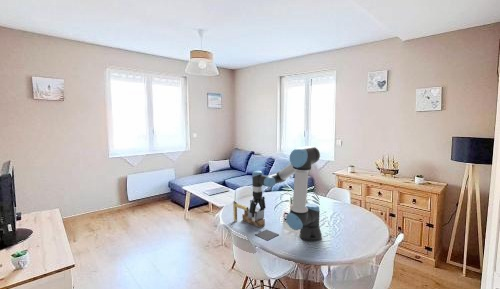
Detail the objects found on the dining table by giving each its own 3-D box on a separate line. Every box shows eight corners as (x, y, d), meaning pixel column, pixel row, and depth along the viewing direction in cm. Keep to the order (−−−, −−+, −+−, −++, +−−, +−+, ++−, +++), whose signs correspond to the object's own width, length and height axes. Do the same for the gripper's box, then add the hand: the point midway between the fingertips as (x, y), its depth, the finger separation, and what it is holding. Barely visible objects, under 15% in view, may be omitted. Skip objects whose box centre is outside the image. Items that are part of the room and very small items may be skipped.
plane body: (264, 225, 205) (264, 214, 204) (260, 227, 202) (260, 216, 201) (247, 218, 220) (246, 207, 219) (242, 220, 216) (242, 209, 215)
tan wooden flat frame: (249, 225, 205) (248, 205, 203) (246, 226, 203) (246, 206, 201) (235, 220, 216) (235, 200, 214) (233, 220, 214) (232, 201, 212)
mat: (278, 234, 189) (278, 234, 189) (267, 240, 181) (267, 240, 181) (266, 229, 198) (266, 229, 198) (255, 235, 190) (255, 234, 190)
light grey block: (264, 218, 207) (264, 209, 206) (256, 221, 202) (256, 212, 201) (255, 214, 214) (254, 206, 213) (247, 217, 209) (247, 208, 208)
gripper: (263, 187, 214) (263, 214, 217) (244, 193, 199) (244, 222, 202) (270, 189, 208) (270, 217, 211) (251, 195, 194) (251, 224, 197)
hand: (257, 219), depth 207 cm, fingers closed on light grey block, 8 cm apart
